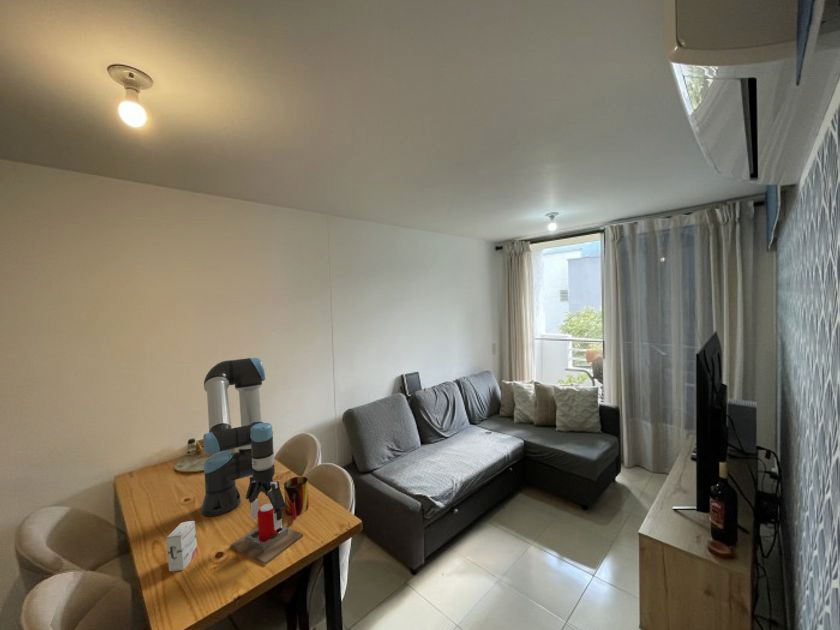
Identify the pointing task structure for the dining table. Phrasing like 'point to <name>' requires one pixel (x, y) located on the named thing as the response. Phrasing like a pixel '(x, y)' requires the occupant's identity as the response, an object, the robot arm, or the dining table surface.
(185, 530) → the ink box
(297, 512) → the mug
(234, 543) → the walnut plate
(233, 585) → the dining table surface
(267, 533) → the beverage can
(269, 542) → the steel collar
